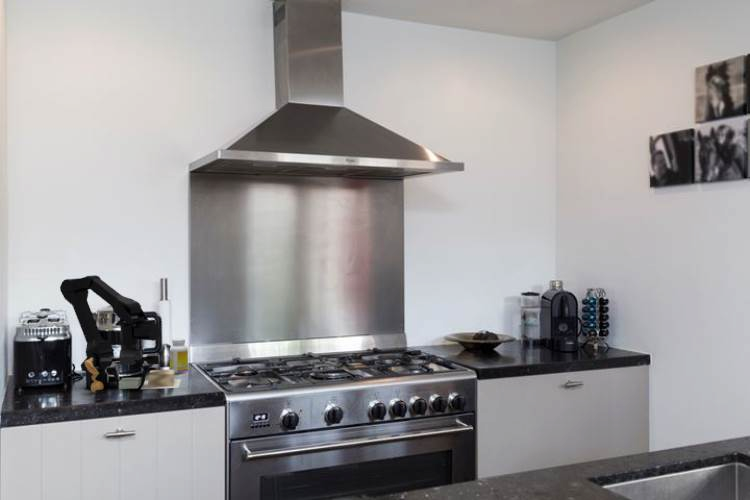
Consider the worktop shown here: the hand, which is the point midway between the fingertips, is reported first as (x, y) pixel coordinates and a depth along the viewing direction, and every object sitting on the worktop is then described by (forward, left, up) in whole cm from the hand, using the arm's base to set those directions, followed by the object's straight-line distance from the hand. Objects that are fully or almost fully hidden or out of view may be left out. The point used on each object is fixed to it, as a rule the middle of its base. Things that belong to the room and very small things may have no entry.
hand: (131, 385), depth 241 cm
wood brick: (+10, +2, 0) cm, 10 cm away
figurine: (-11, -2, -2) cm, 12 cm away
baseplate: (+10, +2, -2) cm, 10 cm away
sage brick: (0, 0, -2) cm, 2 cm away
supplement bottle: (+14, +28, -2) cm, 31 cm away
